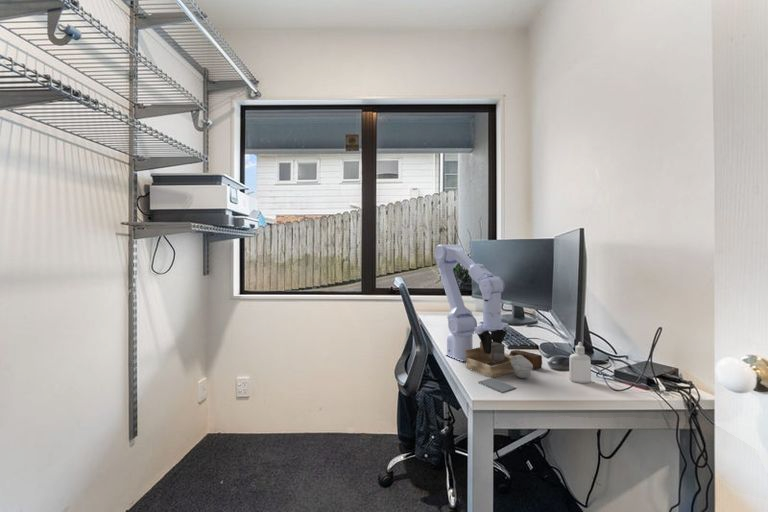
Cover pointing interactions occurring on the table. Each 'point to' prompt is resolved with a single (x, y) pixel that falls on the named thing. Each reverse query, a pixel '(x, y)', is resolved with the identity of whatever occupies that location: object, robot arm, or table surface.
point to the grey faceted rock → (521, 366)
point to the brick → (530, 358)
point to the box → (493, 352)
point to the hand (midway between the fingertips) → (491, 352)
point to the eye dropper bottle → (579, 366)
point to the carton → (479, 365)
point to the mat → (497, 385)
